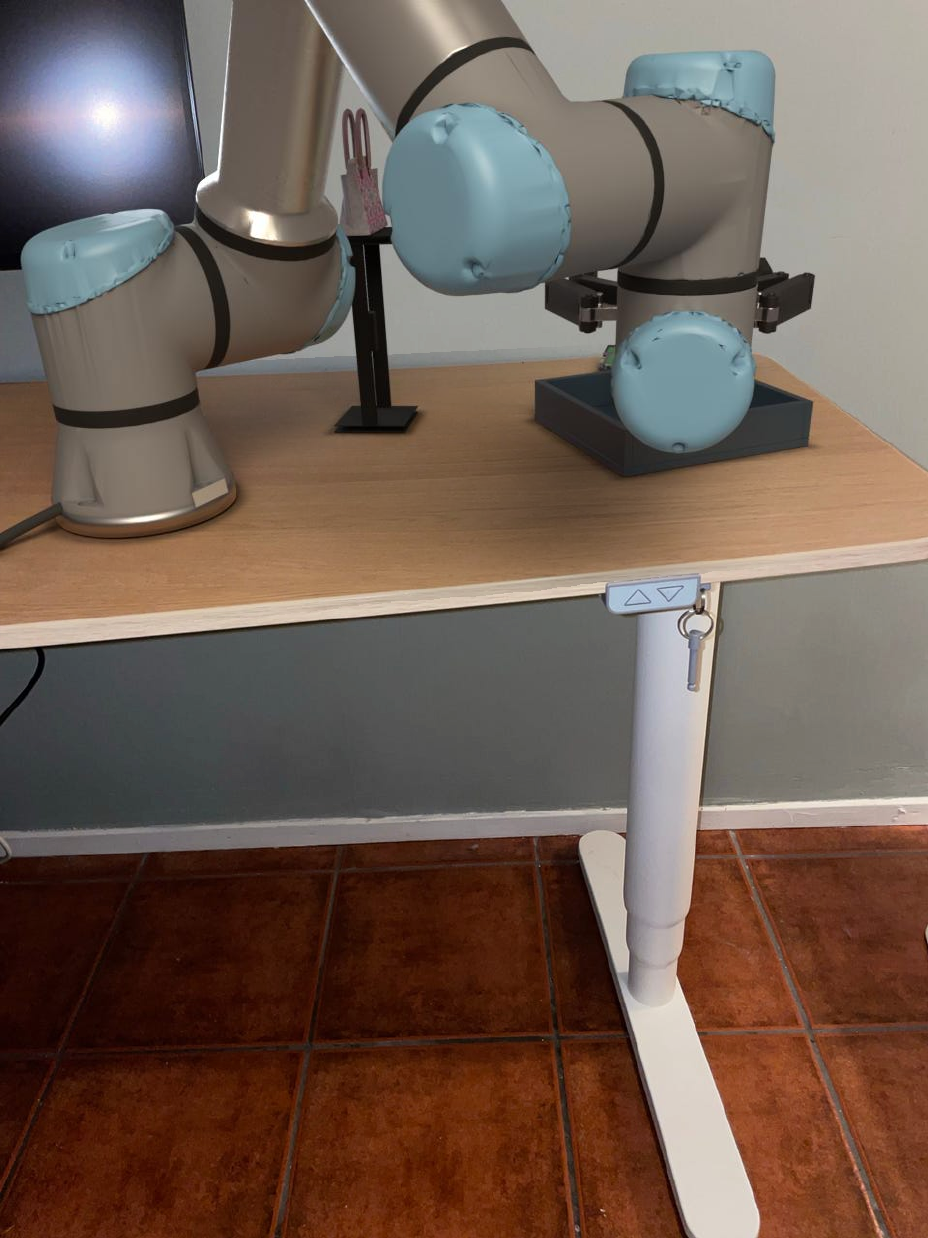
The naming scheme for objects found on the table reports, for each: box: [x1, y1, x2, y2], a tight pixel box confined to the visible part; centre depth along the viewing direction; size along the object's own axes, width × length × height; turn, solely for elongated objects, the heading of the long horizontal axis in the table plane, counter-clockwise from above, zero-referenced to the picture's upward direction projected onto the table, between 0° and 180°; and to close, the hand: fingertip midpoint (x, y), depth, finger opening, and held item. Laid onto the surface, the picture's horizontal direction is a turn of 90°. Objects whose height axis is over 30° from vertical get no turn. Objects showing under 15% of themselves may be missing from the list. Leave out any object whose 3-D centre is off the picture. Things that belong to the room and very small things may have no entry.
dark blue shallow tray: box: [534, 370, 814, 478], centre depth 99 cm, size 20×20×4 cm
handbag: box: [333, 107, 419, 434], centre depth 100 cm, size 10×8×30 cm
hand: (674, 274), depth 84 cm, fingers open, 13 cm apart
